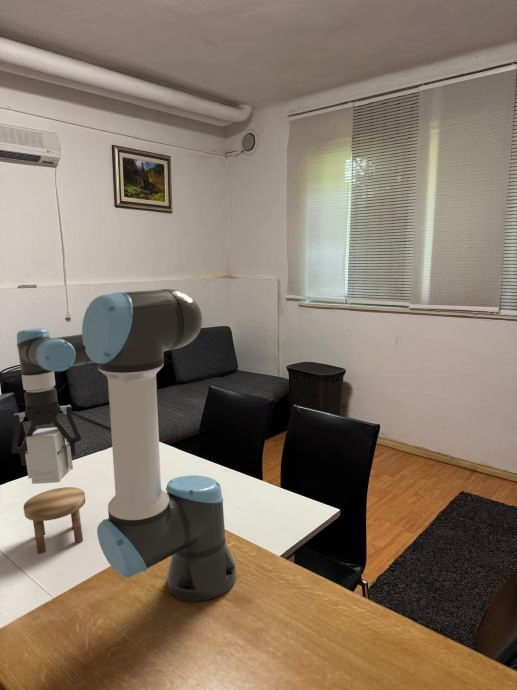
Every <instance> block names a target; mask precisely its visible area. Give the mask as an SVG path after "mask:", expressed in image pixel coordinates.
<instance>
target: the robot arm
mask: <svg viewBox="0 0 517 690" xmlns="http://www.w3.org/2000/svg"><path fill="white" fill-rule="evenodd" d="M202 324H203V315H202V311H201V308H200V306H199V305H198V303H197V301H196V300H195V299H194V298H193V297H191V295H189V294H187V293H186V292H184V291H181V290H177V289H171V288H166V289H165V288H163V289H154V290H138V291H119V292H118V291H116V292H115V293H114V292H113V293H107V294H102V295H99V296H97V297H95V298H94V299H92V301H90V303H89V305H88V307H86V310H85V312H84V316H83V319H82V325H81V326H82V327H81V334H74V335H68V336H60V337H52V338H51V335H50V332H49V330H48V329H47V328H44V327H41V328H39V327H38V328H28V329H27V328H26V329H21V330H19V331H18V332H17V333H16V342H17V343H16V347H17V351H18V358H19V359H18V360H19V365H20V366H19V367H20V372H21V373H20V374H21V381H22V388H23V390H25V392H24V393H23V394H24V401H25V402H24V403H25V411H23V412H22V411H21V412H19V413H18V412H14V414H13V421H14V431H13V436H12V443H11V444H12V446H11V453H12V454H18V455H20V463H21V464H20V465H21V466H22V467H25V466H26V469H27V470H26V471H27V476H28V477H27V478H28V479H31V472H30V464H29V457H28V450H27V442H26V437H28V436H32V434H33V433H34V432H35V431H36V430H35V429H36V427H37V426H38V427H40V426H43V425H50V424H53V425H54V427H55V428H56V427H57V428H58V430H59V431H60V432H61V433H62V435H63V436H64V437H65V439H66V442H67V443H66V444H67V452H68V460H69V467H70V471H71V470H73V469H74V468H73V465H74V464H73V459H72V458H73V456H76V454H77V453H76V445H75V444H76V443H78V442H80V441H81V440H82V437H81V434H80V431H79V428H78V427H77V424H76V422H75V419H74V418H73V414H72V410H73V409H72V406H71V404H66V405H60V404H59V402H58V394H57V393H58V392H57V388H56V387H55V386H56V378H55V377H56V376H55V372H64V371H67V370H68V369H69V368H70V367H76V366H77V367H78V366H83V365H86V364H92V363H97V368H98V369H97V370H98V371H99V372H101V373H102V374H103V375H105V377H106V378H107V383H108V384H107V385H108V386H107V389H108V401H109V402H108V403H109V417H110V430H111V432H110V433H111V447H112V463H113V464H112V465H113V475H114V476H113V477H114V493H115V495H114V496H113V497H112V498H111V499H110V500H109V502H108V504H107V510H108V511H107V512H108V514H107V515H108V518H104V519H102V521H101V522H99V524H98V525H97V530H96V533H97V535H96V536H97V539H98V543H99V546H100V548H101V549H100V550H101V551H102V553H103V555H104V557H105V559H106V561H107V563H108V565H110V567H111V568H112V569H113V570H114V572H116V573H117V575H119V576H121V577H124V578H131V577H134V576H136V575H138V574H140V573H142V572H146V571H147V569H150V568H151V567H153V566H154V565H155V566H156V565H157V564H158V563H159V564H160V563H161V562H162V561H164V560H166V559H169V558H170V557H171V558H170V563H169V565H168V571H167V585H168V587H167V588H168V590H169V592H170V594H171V595H173V596H174V597H175V598H177V599H179V600H181V601H184V602H185V601H186V602H192V603H194V602H205V601H209V600H213V599H216V598H218V597H220V596H222V595H224V594H225V593H227V592H228V591H229V590H231V588H233V586H234V585H235V582H236V581H237V567H236V563H235V559H234V558H233V556H232V553H231V551H230V549H229V547H228V544H227V540H226V529H225V518H224V517H225V516H224V515H225V514H224V497H223V494H222V487H221V484H220V483H219V482H218V481H217V480H216V479H215V478H212V477H210V476H205V475H204V476H203V475H193V474H191V475H183V476H178V477H174V478H172V479H170V480H169V481H168V483H167V484H166V488H165V490H166V491H164V490H163V489H162V482H161V481H162V479H161V477H162V476H161V459H160V458H161V455H160V436H159V433H160V432H159V415H158V414H159V413H158V411H159V410H158V394H157V393H158V392H157V390H158V388H157V373H158V372H159V371H161V369H162V368H163V367H164V365H165V364H164V363H165V361H164V352H167V351H171V350H176V349H180V348H183V347H185V346H187V345H189V344H191V342H193V341H194V340H195V339H196V338H197V337H198V335H199V334H200V332H201V329H202ZM61 411H62V413H63V414H64V415H66V417H67V421H68V422H69V425H70V427H71V431H72V432H73V434H74V436H72V435H71V434H70V432H68V430H67V429H66V428H64V427H65V426H64V425H63V424H62V422H61V421H60V419H59V418H58V415H59V414H60V413H61ZM25 417H26V418H27V419H28V420H29V421H30V423H29V427H28V429H27V432H26V433H25V436H24V439H23V440H22V444H21V446H19V445H18V444H19V438H20V431H21V424H22V422H23V421H24V418H25Z"/></svg>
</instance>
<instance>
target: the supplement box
mask: <svg viewBox="0 0 517 690" xmlns="http://www.w3.org/2000/svg"><path fill="white" fill-rule="evenodd" d="M64 428H65V426H64ZM65 429H66V428H65ZM26 442H27V449H26V451H28V457H29V464H30V472H31V478H30V479H31V485H36V484H37V485H38V484H54V483H60V482H61V481H62V479H64V478H65V476H66V475H67V474H68V473H70V472H71V470H70V467H69V460H68V452H67V444H66V443H68V441H67V440H66V439H65V437H64V436H63V435H62V433H61V432H60V431H59V430H58V428H57V427H56V426H55V427H47V428H46V427H45V428H44V427H43V428H38V429H36V430H34V432H33V434H32V436H28V437H26Z"/></svg>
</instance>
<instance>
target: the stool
mask: <svg viewBox="0 0 517 690" xmlns="http://www.w3.org/2000/svg"><path fill="white" fill-rule="evenodd" d="M85 504H86V493H85V490H83V489H82V488H78V487H73V486H71V487H68V486H65V487H58V488H53V489H49V490H46V491H43V492H40V493H38V494H36V495H33V496H32V497H30V498H29V499H28V500H27V501H26V502H25V503H24V504H23V513H24V517H25V518H26V519H28V520H30V521H32V523H33V524H32V525H33V530H34V536H35V537H34V538H35V545H36V551H37V554H41V555H42V554H44V553H45V552H46V551H47V549H46V548H47V547H46V541H45V536H44V535H46V529H45V522H46V521H52V520H58V519H60V518H64V517H67V516H69V515H70V517H71V526H72V529H73V537H74V543H75V544H81V543H82V542H83V541H84V537H83V531H82V521H81V514H80V509H81V508H83V507H84V505H85Z"/></svg>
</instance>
